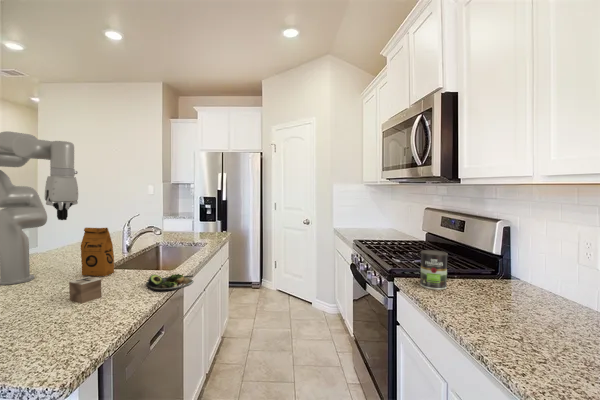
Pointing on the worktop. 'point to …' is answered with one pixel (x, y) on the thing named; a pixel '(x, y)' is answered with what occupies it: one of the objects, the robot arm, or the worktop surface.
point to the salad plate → (168, 282)
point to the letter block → (85, 289)
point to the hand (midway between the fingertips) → (62, 219)
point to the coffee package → (97, 252)
